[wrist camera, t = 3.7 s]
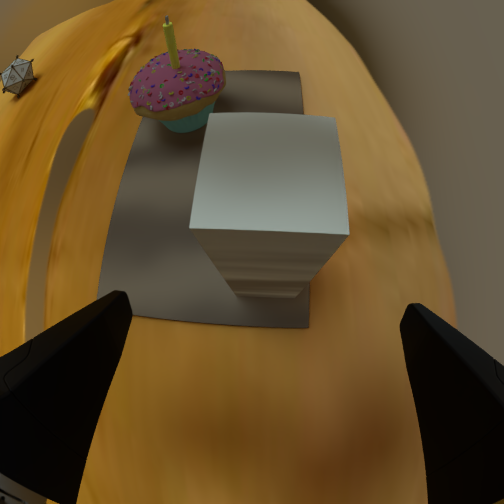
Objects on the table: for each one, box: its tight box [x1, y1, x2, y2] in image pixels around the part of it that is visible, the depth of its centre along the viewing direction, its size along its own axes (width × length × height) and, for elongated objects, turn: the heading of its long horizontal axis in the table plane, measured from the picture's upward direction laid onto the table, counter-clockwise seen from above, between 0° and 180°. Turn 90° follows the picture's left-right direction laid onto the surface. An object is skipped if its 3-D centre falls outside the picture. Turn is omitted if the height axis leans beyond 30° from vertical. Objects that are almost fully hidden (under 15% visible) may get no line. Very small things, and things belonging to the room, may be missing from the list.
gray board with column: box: [97, 70, 349, 328], centre depth 16 cm, size 26×16×13 cm, turn 177°
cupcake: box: [128, 16, 226, 133], centre depth 18 cm, size 9×8×12 cm
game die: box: [0, 55, 37, 98], centre depth 28 cm, size 9×8×10 cm
